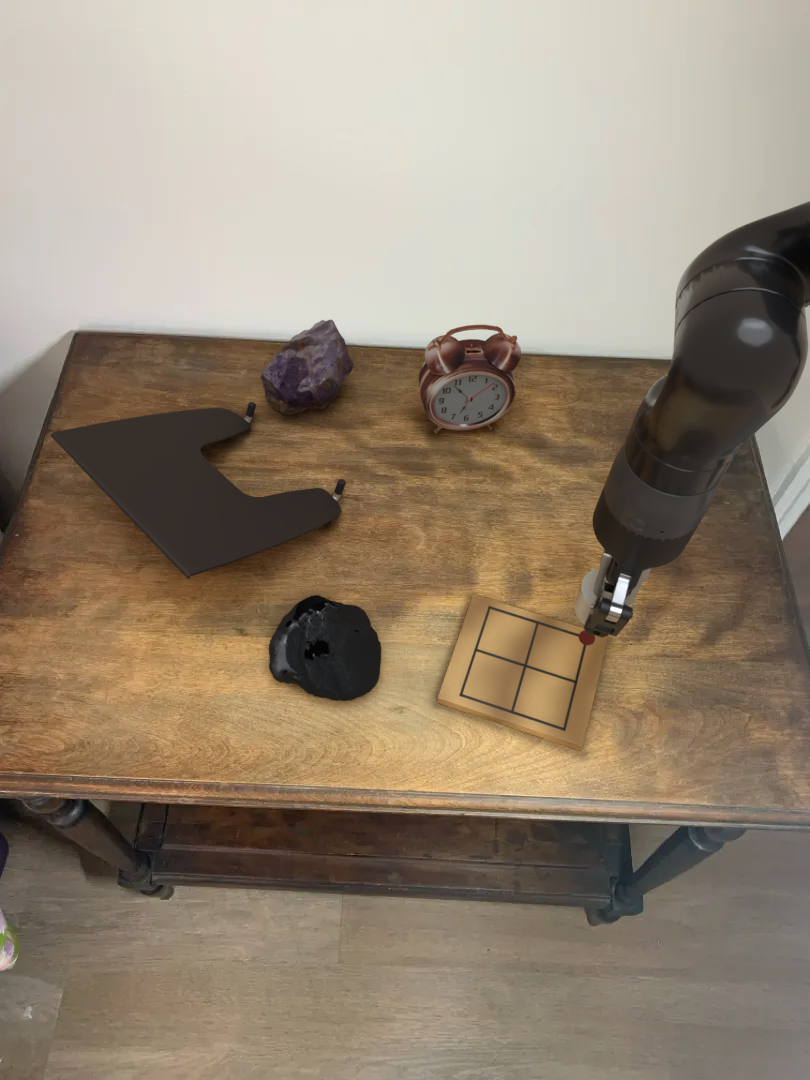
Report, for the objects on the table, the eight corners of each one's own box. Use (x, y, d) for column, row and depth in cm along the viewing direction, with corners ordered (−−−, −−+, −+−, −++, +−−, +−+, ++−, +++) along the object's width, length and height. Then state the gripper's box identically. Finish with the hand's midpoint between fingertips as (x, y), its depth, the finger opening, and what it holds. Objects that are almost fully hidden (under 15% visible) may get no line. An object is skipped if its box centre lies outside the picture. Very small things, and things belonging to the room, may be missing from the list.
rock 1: (259, 406, 99) (321, 445, 96) (240, 360, 92) (307, 400, 88) (320, 344, 103) (382, 379, 99) (307, 295, 95) (374, 331, 92)
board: (605, 641, 81) (608, 635, 80) (580, 751, 75) (583, 746, 74) (472, 599, 84) (473, 592, 82) (436, 702, 77) (437, 697, 76)
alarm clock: (420, 440, 95) (427, 344, 83) (414, 410, 98) (420, 312, 85) (511, 433, 96) (531, 337, 84) (503, 403, 99) (521, 306, 86)
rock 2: (320, 663, 85) (405, 665, 81) (268, 707, 77) (360, 712, 72) (302, 580, 83) (389, 578, 79) (246, 616, 75) (340, 616, 70)
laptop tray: (342, 562, 92) (368, 499, 87) (174, 632, 75) (194, 559, 70) (219, 448, 101) (235, 385, 96) (43, 488, 84) (52, 414, 79)
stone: (629, 595, 76) (639, 576, 73) (620, 638, 73) (630, 620, 71) (579, 579, 77) (587, 560, 74) (568, 622, 74) (576, 604, 71)
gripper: (692, 588, 56) (627, 687, 70) (717, 440, 64) (654, 556, 78) (586, 556, 57) (543, 660, 71) (623, 414, 65) (578, 533, 79)
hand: (601, 605), depth 75 cm, fingers closed on stone, 4 cm apart
